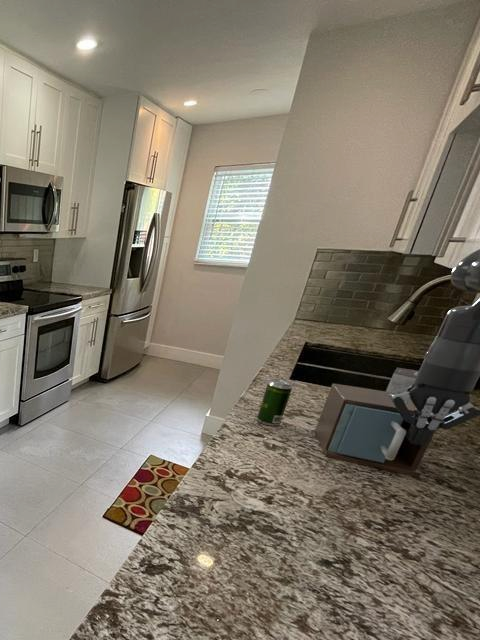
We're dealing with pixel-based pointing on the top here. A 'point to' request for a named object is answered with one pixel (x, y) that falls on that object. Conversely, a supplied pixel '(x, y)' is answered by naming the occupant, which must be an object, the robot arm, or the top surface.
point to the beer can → (274, 402)
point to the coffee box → (402, 380)
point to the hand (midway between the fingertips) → (415, 443)
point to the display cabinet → (338, 419)
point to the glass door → (373, 435)
